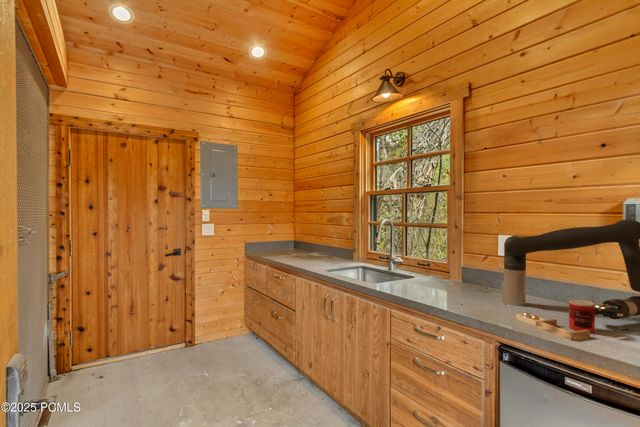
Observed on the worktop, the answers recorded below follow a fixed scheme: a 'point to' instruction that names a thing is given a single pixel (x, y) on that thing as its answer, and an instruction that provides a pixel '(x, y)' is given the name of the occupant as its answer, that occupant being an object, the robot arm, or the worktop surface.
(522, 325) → the worktop surface
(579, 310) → the canned food
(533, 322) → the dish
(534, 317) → the brass ball
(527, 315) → the steel ball
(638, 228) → the robot arm
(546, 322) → the birch holder
